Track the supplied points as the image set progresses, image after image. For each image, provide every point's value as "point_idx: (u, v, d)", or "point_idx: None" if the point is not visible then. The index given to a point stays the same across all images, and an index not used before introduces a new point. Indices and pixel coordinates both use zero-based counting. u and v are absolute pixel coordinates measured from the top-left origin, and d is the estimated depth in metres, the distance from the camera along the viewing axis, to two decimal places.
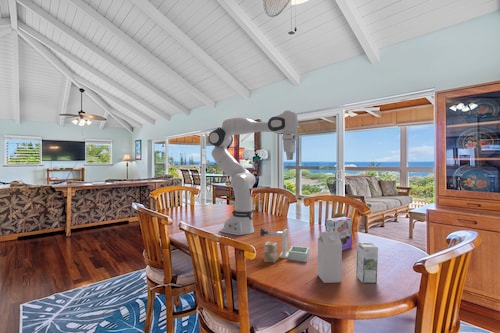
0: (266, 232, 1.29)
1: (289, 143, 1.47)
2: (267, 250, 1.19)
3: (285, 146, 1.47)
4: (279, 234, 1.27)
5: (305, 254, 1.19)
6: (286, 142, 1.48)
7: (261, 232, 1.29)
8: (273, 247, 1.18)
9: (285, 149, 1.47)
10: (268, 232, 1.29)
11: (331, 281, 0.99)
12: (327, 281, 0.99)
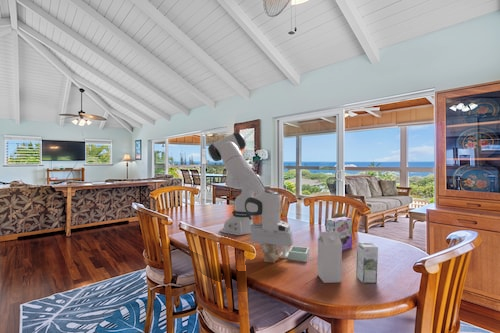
0: None
1: (291, 235, 1.19)
2: (267, 250, 1.19)
3: (291, 239, 1.17)
4: None
5: (305, 254, 1.19)
6: (290, 234, 1.17)
7: None
8: (273, 247, 1.18)
9: (291, 244, 1.17)
10: None
11: (331, 281, 0.99)
12: (327, 281, 0.99)
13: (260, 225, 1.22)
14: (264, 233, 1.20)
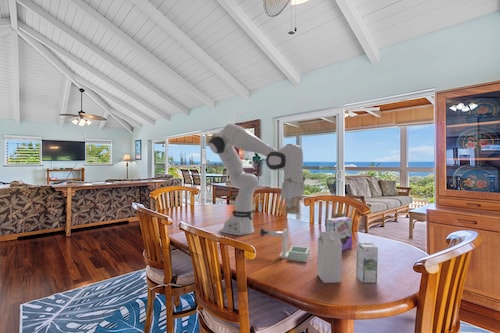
0: (266, 232, 1.29)
1: None
2: (296, 202, 1.20)
3: None
4: (279, 234, 1.27)
5: (305, 254, 1.19)
6: None
7: (261, 232, 1.29)
8: (299, 198, 1.23)
9: None
10: (268, 232, 1.29)
11: (331, 281, 0.99)
12: (327, 281, 0.99)
13: (289, 180, 1.18)
14: (294, 186, 1.19)
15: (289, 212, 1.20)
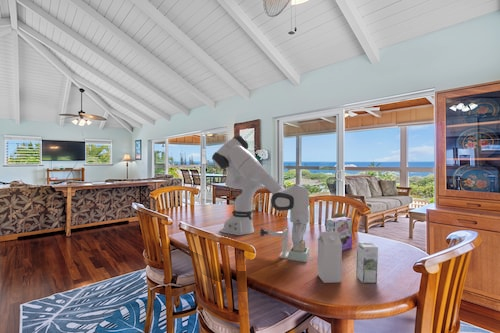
0: (266, 232, 1.29)
1: None
2: (304, 248, 1.23)
3: None
4: (279, 234, 1.27)
5: (305, 254, 1.19)
6: None
7: (261, 232, 1.29)
8: None
9: None
10: (268, 232, 1.29)
11: (331, 281, 0.99)
12: (327, 281, 0.99)
13: (298, 222, 1.19)
14: (301, 228, 1.21)
15: None
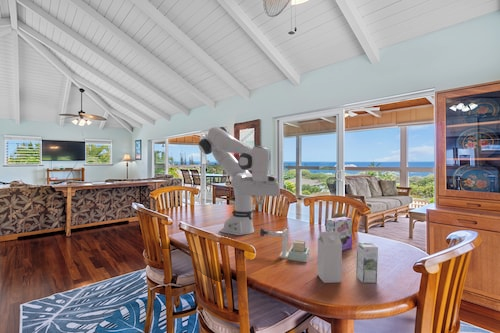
0: (266, 232, 1.29)
1: None
2: (304, 248, 1.23)
3: (279, 189, 1.29)
4: (279, 234, 1.27)
5: (305, 254, 1.19)
6: (278, 185, 1.29)
7: (261, 232, 1.29)
8: None
9: (279, 193, 1.29)
10: (268, 232, 1.29)
11: (331, 281, 0.99)
12: (327, 281, 0.99)
13: (250, 178, 1.32)
14: (254, 185, 1.30)
15: None
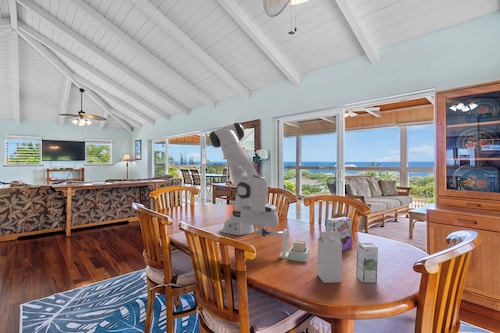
0: (268, 232, 1.29)
1: None
2: (304, 248, 1.22)
3: (277, 220, 1.27)
4: (281, 234, 1.26)
5: (305, 254, 1.19)
6: (276, 215, 1.27)
7: (263, 232, 1.28)
8: None
9: (277, 224, 1.26)
10: (270, 232, 1.28)
11: (331, 281, 0.99)
12: (327, 281, 0.99)
13: (249, 207, 1.32)
14: (252, 215, 1.30)
15: None
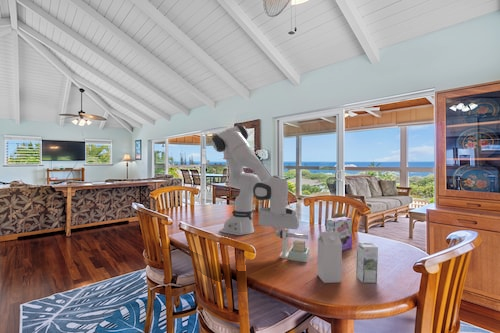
0: (286, 234, 1.25)
1: (298, 218, 1.25)
2: (304, 247, 1.23)
3: (298, 222, 1.23)
4: (300, 236, 1.23)
5: (305, 254, 1.19)
6: (297, 218, 1.23)
7: (281, 234, 1.25)
8: None
9: (298, 226, 1.23)
10: (288, 234, 1.25)
11: (331, 281, 0.99)
12: (327, 281, 0.99)
13: (268, 209, 1.28)
14: (272, 216, 1.27)
15: None
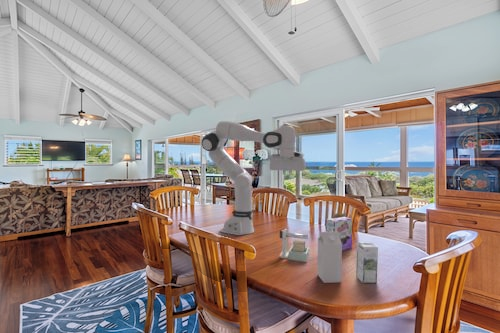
0: (286, 234, 1.25)
1: None
2: (304, 248, 1.23)
3: (305, 164, 1.40)
4: (299, 236, 1.23)
5: (305, 254, 1.19)
6: (304, 160, 1.40)
7: (280, 234, 1.25)
8: None
9: (305, 168, 1.39)
10: (288, 234, 1.25)
11: (331, 281, 0.99)
12: (327, 281, 0.99)
13: (278, 155, 1.45)
14: (281, 161, 1.43)
15: None
